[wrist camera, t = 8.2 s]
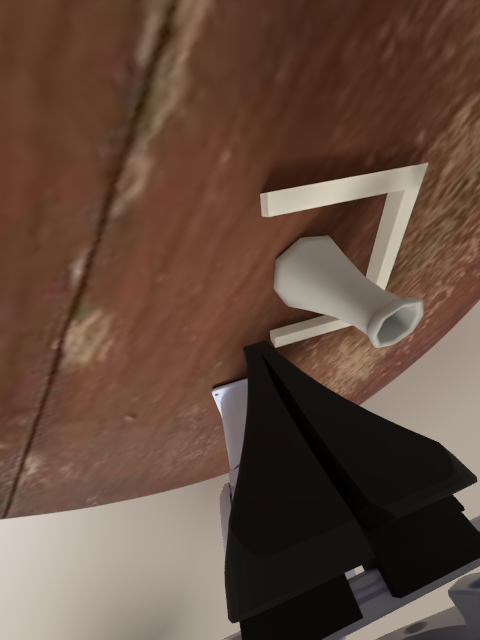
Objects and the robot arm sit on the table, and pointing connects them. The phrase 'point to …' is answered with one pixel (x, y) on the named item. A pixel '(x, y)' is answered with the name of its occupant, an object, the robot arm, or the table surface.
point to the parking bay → (388, 239)
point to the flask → (342, 291)
